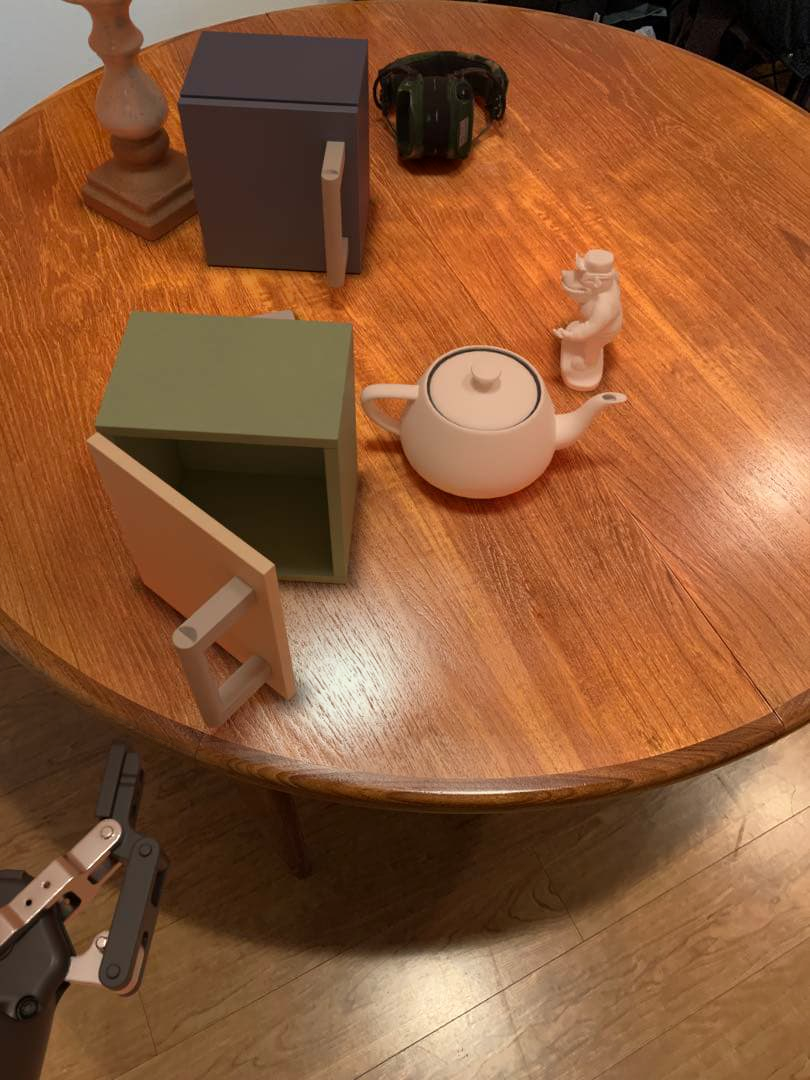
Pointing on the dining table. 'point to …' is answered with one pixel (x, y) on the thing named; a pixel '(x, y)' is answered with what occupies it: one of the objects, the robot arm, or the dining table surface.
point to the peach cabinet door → (201, 584)
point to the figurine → (589, 318)
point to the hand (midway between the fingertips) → (34, 739)
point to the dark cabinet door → (276, 184)
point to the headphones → (439, 100)
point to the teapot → (481, 421)
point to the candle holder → (133, 133)
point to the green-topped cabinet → (246, 428)
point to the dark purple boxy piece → (287, 79)
